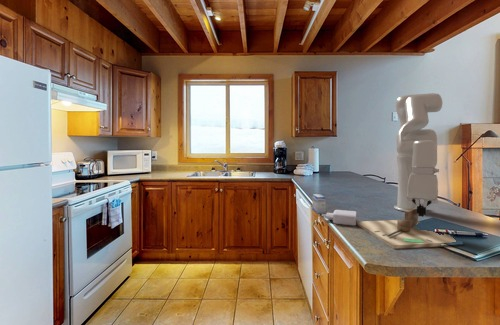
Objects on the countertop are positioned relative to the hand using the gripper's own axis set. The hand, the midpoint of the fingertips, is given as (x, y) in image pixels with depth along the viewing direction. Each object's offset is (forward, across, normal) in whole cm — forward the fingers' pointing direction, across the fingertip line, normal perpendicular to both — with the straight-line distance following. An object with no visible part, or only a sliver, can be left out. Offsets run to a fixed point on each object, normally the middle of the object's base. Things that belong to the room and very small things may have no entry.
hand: (421, 215), depth 104 cm
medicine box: (+6, +45, -2) cm, 46 cm away
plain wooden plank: (+5, +5, +8) cm, 11 cm away
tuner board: (+6, +5, +8) cm, 11 cm away
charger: (+7, +31, +8) cm, 33 cm away
